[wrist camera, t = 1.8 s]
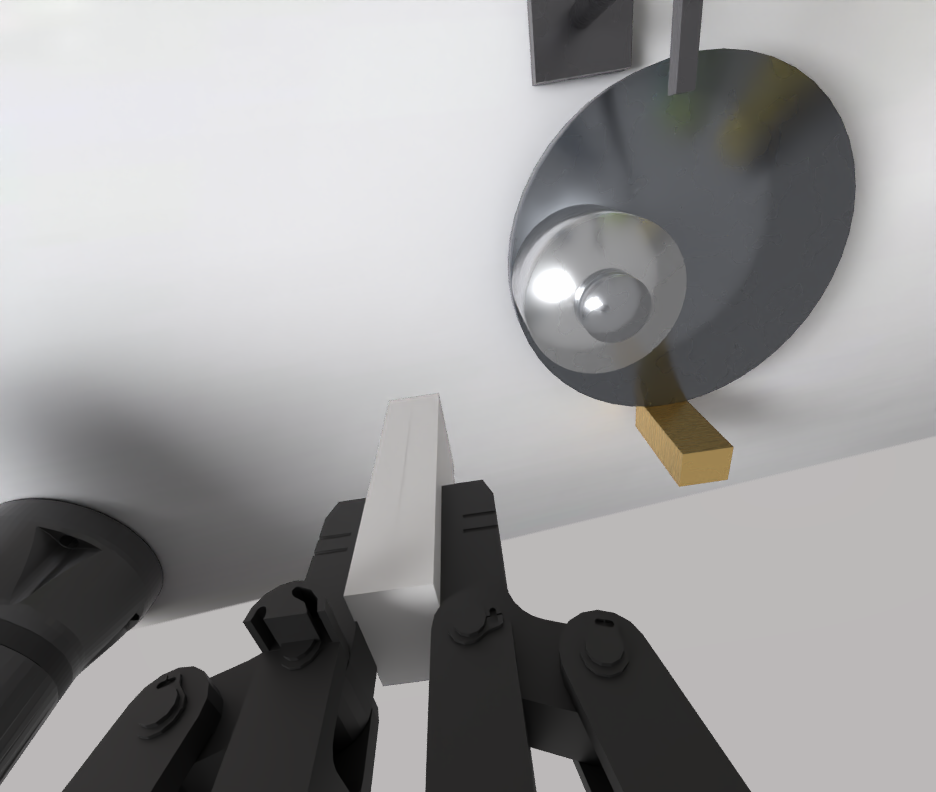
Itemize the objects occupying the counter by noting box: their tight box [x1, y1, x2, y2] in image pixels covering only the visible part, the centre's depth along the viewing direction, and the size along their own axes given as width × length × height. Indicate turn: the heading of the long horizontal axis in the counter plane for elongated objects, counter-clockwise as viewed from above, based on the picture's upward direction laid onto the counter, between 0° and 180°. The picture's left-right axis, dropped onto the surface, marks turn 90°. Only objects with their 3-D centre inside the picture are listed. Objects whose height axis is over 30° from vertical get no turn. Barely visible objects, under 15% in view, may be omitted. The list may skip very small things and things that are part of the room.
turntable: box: [508, 49, 856, 487], centre depth 25 cm, size 20×22×7 cm
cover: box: [512, 204, 687, 374], centre depth 23 cm, size 8×8×7 cm
